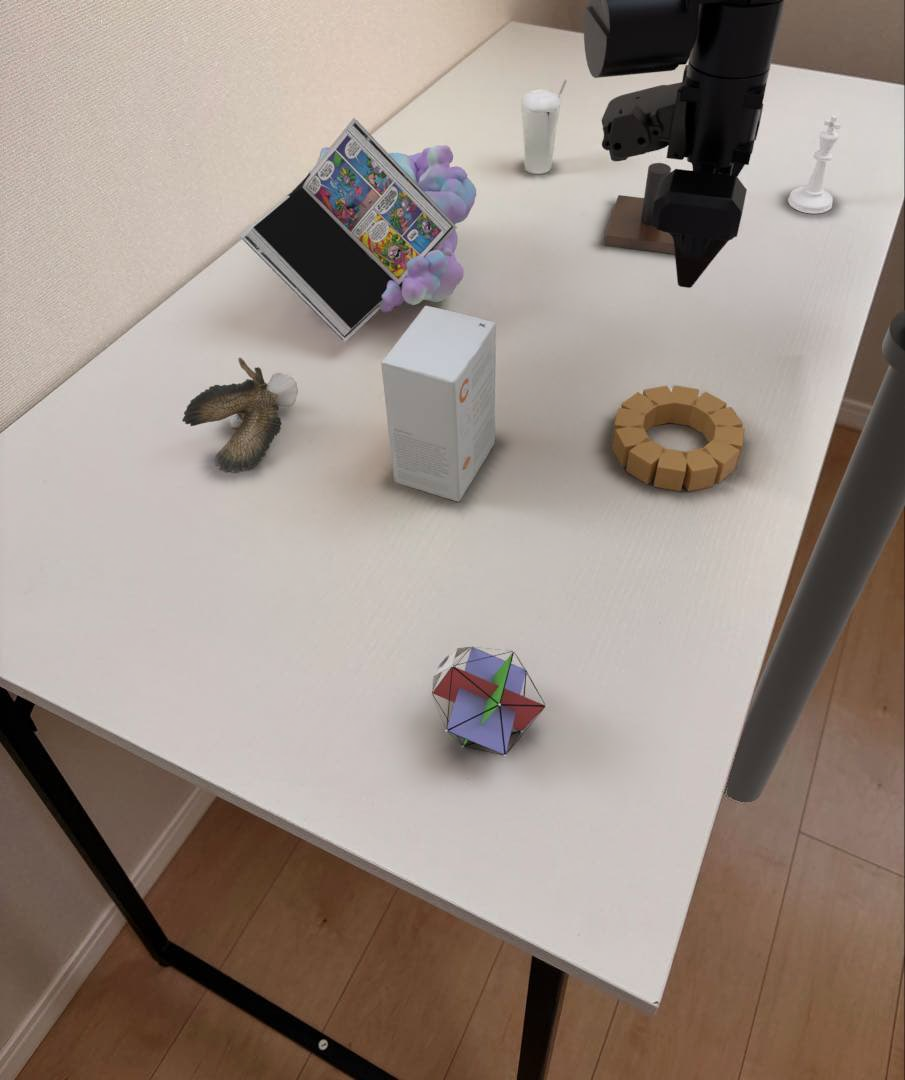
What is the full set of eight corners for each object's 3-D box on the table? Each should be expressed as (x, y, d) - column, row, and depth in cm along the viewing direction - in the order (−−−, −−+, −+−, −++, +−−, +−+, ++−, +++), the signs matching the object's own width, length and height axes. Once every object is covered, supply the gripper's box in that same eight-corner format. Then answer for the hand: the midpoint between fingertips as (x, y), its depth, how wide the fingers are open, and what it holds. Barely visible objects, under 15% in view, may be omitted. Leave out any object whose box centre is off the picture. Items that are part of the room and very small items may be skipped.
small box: (431, 424, 85) (425, 302, 75) (496, 443, 83) (498, 320, 73) (391, 483, 80) (378, 361, 70) (459, 504, 78) (456, 382, 69)
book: (472, 177, 105) (379, 41, 92) (533, 275, 90) (432, 129, 78) (331, 287, 110) (225, 172, 97) (367, 396, 95) (247, 277, 83)
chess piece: (804, 187, 111) (828, 102, 103) (840, 203, 108) (867, 117, 101) (779, 202, 109) (801, 116, 101) (814, 218, 106) (840, 131, 99)
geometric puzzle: (574, 681, 64) (507, 611, 60) (556, 770, 60) (483, 701, 56) (492, 697, 68) (424, 633, 65) (469, 781, 64) (395, 718, 60)
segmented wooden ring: (742, 417, 85) (748, 396, 83) (732, 501, 78) (738, 480, 76) (623, 397, 87) (626, 377, 85) (603, 478, 80) (606, 457, 78)
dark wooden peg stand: (695, 213, 108) (706, 153, 102) (686, 255, 102) (697, 193, 97) (617, 204, 109) (624, 144, 104) (604, 245, 104) (610, 183, 98)
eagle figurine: (222, 384, 87) (166, 432, 81) (253, 334, 83) (197, 380, 76) (286, 438, 88) (237, 489, 82) (321, 391, 84) (271, 441, 77)
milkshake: (568, 171, 115) (574, 87, 107) (528, 180, 114) (532, 96, 106) (552, 154, 118) (557, 72, 110) (513, 163, 116) (515, 80, 109)
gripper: (638, 4, 75) (617, 189, 86) (592, 106, 63) (574, 304, 75) (783, 17, 72) (740, 205, 84) (762, 125, 61) (716, 326, 72)
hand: (692, 255), depth 79 cm, fingers open, 9 cm apart
